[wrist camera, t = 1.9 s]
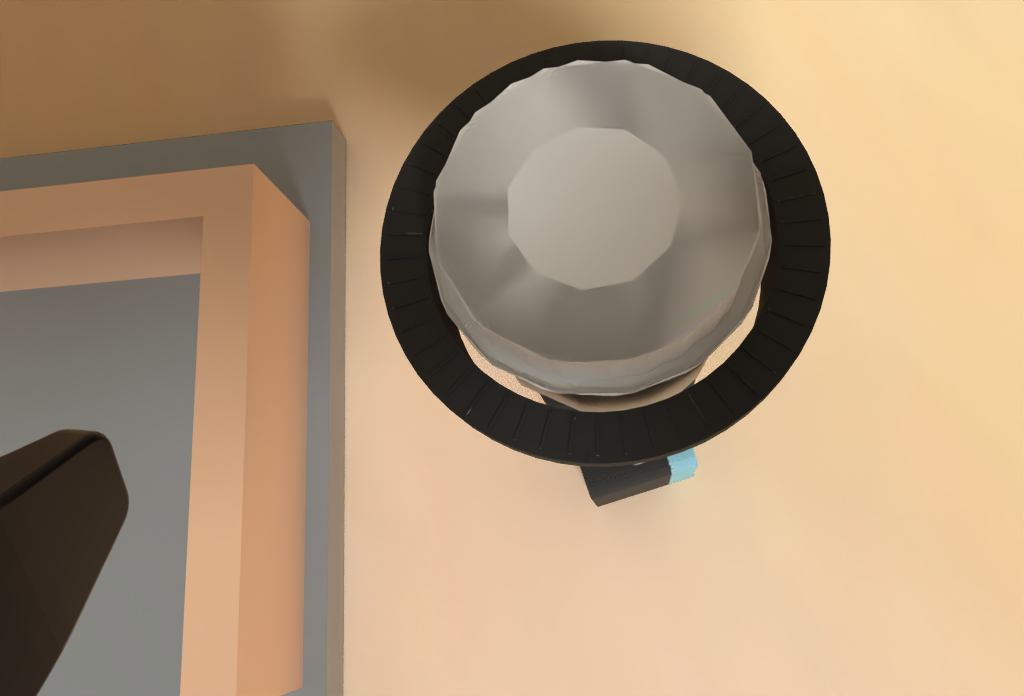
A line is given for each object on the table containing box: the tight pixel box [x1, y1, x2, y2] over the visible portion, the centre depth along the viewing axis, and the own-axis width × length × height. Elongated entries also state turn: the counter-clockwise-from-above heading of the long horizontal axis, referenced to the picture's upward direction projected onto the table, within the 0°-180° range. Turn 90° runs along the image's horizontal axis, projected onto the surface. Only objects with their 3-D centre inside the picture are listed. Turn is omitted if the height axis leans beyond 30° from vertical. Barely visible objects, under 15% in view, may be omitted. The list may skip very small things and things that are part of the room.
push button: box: [380, 41, 831, 507], centre depth 14 cm, size 7×5×10 cm
